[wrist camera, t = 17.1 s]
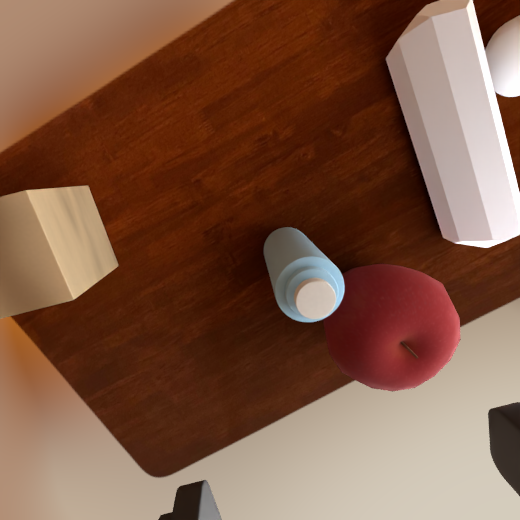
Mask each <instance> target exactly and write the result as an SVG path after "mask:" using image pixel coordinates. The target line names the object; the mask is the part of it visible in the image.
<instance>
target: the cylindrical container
mask: <svg viewBox="0 0 520 520" xmlns="http://www.w3.org/2000/svg"><path fill="white" fill-rule="evenodd" d="M485 54H486V58H487V62H488V66H489V70H490V74H491V79H492V83H493V87H494V91H495V92H496V93H498V94H500V95H502V96H507V97H516V96H520V15H519V16H517V17H515V18H514V19H512V20H510V21H508V22H507V23H505V24H504V25H502V26H501V27H500V28H499V29H498V30H497V31H496V32H495V33H494V34H493V36H492V38H491V39H490V41H489V43H488V45H487V47H486V50H485Z"/></svg>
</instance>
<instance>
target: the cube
mask: <svg viewBox="0 0 520 520" xmlns="http://www.w3.org/2000/svg"><path fill="white" fill-rule="evenodd" d="M118 266H119V265H118V262H117V260H116V257H115V255H114V252H113V249H112V247H111V244H110V242H109V239H108V236H107V234H106V231H105V228H104V226H103V223H102V221H101V218H100V215H99V213H98V210H97V208H96V205H95V202H94V200H93V197H92V194H91V192H90V189H89V187H88V185H85V186H73V187H60V188H48V189H35V190H25V191H21V192H17V193H13V194H9V195H5V196H2V197H0V319H1V318H4V317H9V316H12V315H16V314H20V313H24V312H28V311H32V310H36V309H40V308H44V307H48V306H52V305H56V304H60V303H64V302H68V301H72V300H74V299H76V298H77V297H78V296H80V295H81V294H82V293H84V292H85V291H86V290H88V289H89V288H90V287H91V286H93V285H94V284H95V283H97V282H98V281H99V280H101V279H102V278H103V277H105V276H106V275H107V274H109V273H110V272H111V271H113V270H114V269H115V268H117V267H118Z"/></svg>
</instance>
